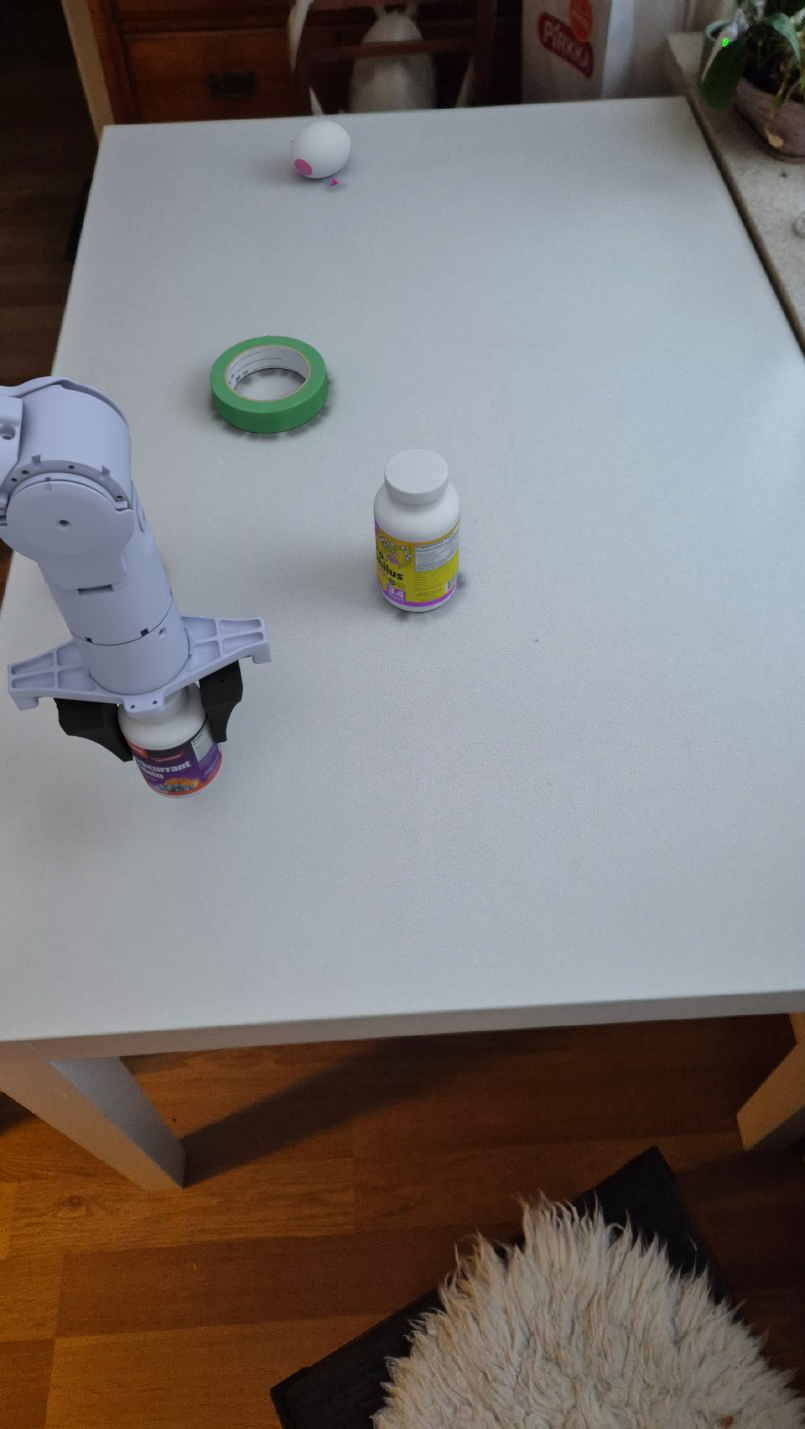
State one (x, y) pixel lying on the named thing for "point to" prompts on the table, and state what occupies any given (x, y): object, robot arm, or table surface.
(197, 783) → the pill bottle
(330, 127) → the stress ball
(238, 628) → the robot arm
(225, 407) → the tape roll
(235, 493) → the table surface
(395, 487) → the supplement bottle
